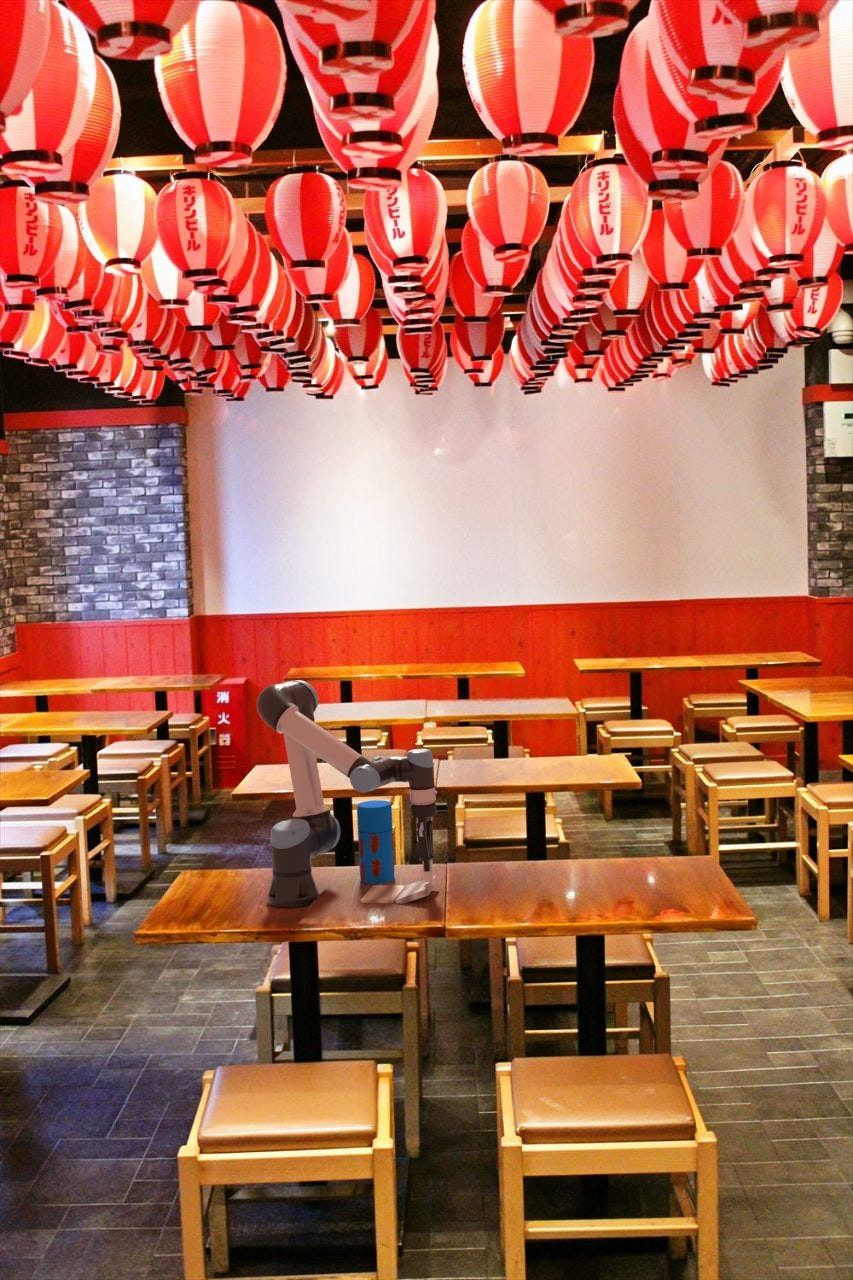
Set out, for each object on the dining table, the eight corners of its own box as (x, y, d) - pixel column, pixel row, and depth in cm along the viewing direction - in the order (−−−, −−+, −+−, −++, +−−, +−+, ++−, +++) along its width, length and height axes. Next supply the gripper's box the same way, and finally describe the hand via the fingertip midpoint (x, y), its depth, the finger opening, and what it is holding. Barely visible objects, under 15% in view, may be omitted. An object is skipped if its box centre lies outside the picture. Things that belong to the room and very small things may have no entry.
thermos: (394, 887, 366) (390, 807, 364) (359, 888, 366) (355, 808, 364) (395, 877, 377) (392, 799, 375) (361, 878, 377) (358, 800, 375)
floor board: (360, 907, 347) (360, 900, 347) (373, 891, 363) (373, 884, 362) (431, 908, 343) (430, 901, 343) (441, 892, 358) (441, 885, 358)
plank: (397, 905, 345) (395, 900, 345) (408, 891, 360) (406, 885, 360) (428, 895, 343) (426, 889, 343) (438, 880, 358) (436, 874, 358)
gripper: (431, 806, 342) (437, 887, 343) (439, 797, 354) (445, 875, 356) (405, 807, 343) (411, 887, 345) (415, 797, 356) (420, 875, 358)
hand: (428, 881), depth 350 cm, fingers closed
